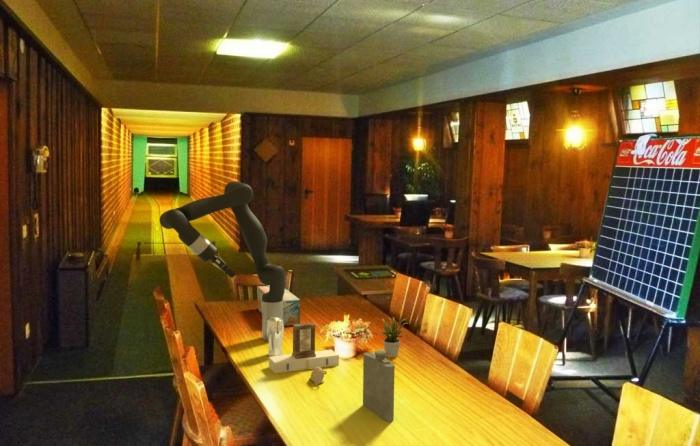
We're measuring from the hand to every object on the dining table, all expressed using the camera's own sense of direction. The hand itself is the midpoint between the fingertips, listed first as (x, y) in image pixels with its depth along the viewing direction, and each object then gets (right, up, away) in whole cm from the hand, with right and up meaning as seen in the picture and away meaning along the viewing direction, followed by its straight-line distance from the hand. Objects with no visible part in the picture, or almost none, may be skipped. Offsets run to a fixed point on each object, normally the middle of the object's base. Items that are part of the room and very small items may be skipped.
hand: (231, 274), depth 256 cm
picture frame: (+30, -31, -9) cm, 44 cm away
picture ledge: (+30, -35, -9) cm, 47 cm away
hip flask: (+57, -40, -54) cm, 88 cm away
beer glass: (+17, -34, +6) cm, 38 cm away
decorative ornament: (+36, -37, -26) cm, 58 cm away
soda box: (+11, -28, +69) cm, 76 cm away
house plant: (+67, -34, +7) cm, 75 cm away
